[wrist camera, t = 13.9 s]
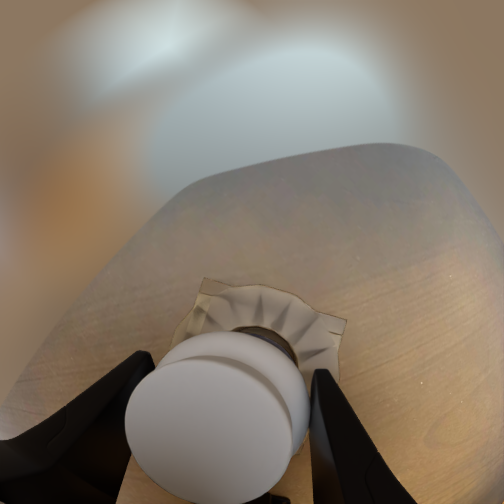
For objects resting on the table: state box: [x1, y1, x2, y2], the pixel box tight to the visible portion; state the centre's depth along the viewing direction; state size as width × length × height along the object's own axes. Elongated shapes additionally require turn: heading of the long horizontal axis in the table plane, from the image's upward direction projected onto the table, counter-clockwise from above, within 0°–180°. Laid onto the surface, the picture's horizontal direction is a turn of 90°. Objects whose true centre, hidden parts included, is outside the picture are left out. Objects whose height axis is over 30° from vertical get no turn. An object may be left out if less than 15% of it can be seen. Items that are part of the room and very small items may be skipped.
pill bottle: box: [125, 331, 311, 504], centre depth 10 cm, size 5×5×10 cm
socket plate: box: [169, 277, 347, 455], centre depth 18 cm, size 11×11×3 cm
